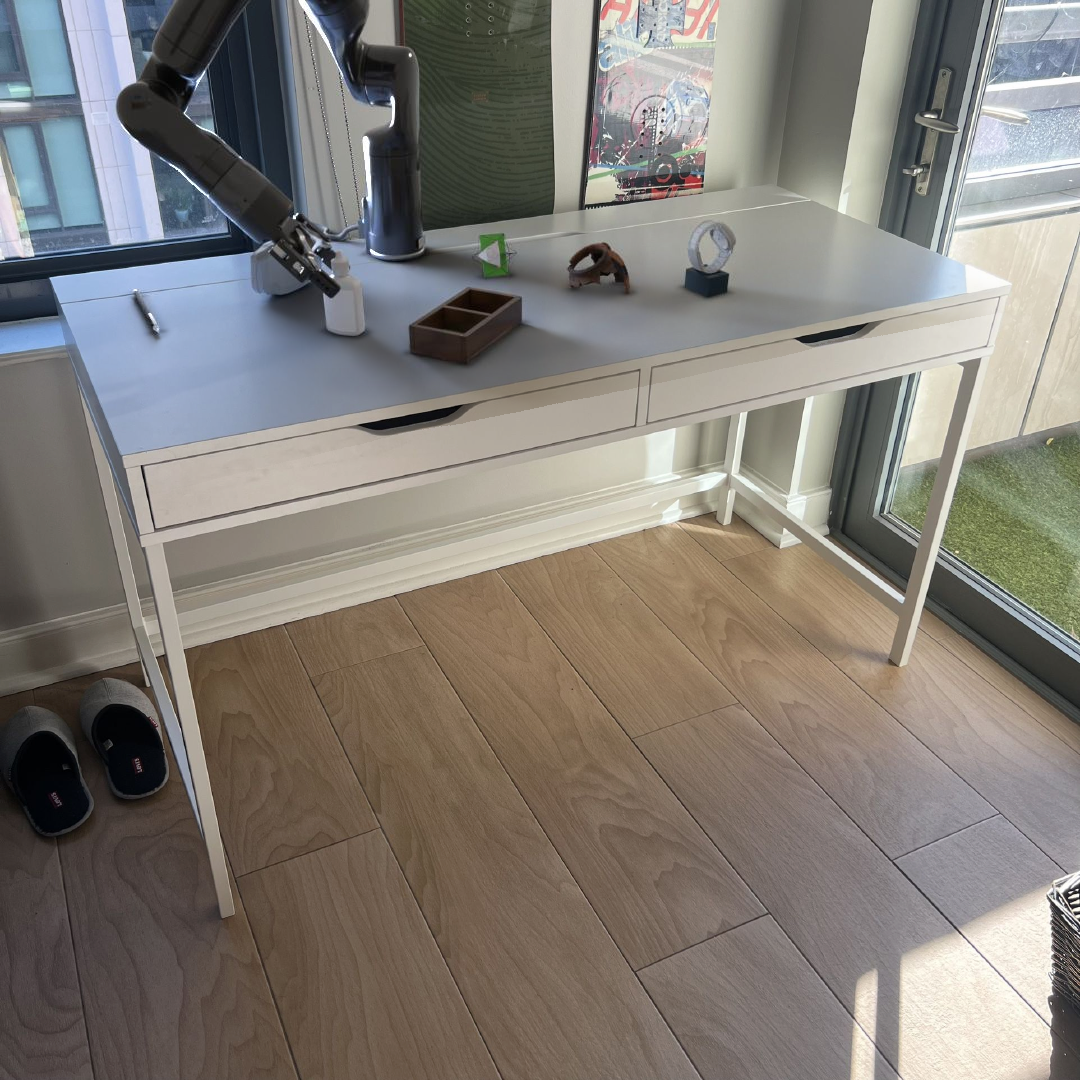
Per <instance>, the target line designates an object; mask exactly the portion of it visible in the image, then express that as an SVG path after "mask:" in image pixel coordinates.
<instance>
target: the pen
mask: <svg viewBox="0 0 1080 1080" xmlns="http://www.w3.org/2000/svg"><path fill="white" fill-rule="evenodd" d="M133 295H134V297H135V300H136V301H137V303H138V305H139V306H140V308H141V310H142V311H143V313H144V316H145V317H146V318H147V320H148V322H149V324H150V326H151V327H152V329H153V331H154V332H156V333H160V325H159V324H158V322H157V320H156V318H155V317H154V315H153V313H152V312H151V310H150V308H149V306H148V305H147V303H146V301H145V300H144V298H143V296H142V293H140V290H138V289H133Z"/></svg>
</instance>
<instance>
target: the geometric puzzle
mask: <svg viewBox="0 0 1080 1080" xmlns="http://www.w3.org/2000/svg"><path fill="white" fill-rule="evenodd" d="M506 238H507V237H506V235H505V232H500V233H491V234H479V235H478V239H477V240H479V243H478V245H475V248H474V251H473V253H472V254H473V255H472V256H471V257H470V259H472V261H473V262H474V264H475V266H476V267H477V269H478V270H479V271H480V273H481V274H482V276H483V278H490V277H499V276H509V275H510V274H509V273H510V270H511V267H510V266H508V262H510V259H511V258H513V257H516V255H517V254H518V252H517V251H515V249H512V248H511V247H508V242H509V243H510V245H512V244H511V242H510V241H509V239H508V238H507V239H506ZM507 240H508V242H507ZM505 243H506V244H505ZM476 246H477V248H479V246H480V250H477V252H476V253H475V254H474V252H475V250H476ZM506 247H507V250H506ZM510 250H512V252H510ZM507 251H508V252H507ZM479 252H480V253H479ZM476 258H477V260H476ZM507 258H508V259H507ZM479 259H481V262H480V260H479ZM475 261H476V262H477V263H479V266H480V269H481V270H480V269H479V267H478V265H477V264H476V262H475ZM513 263H514V262H512V263H511V265H513Z"/></svg>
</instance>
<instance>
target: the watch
mask: <svg viewBox="0 0 1080 1080" xmlns="http://www.w3.org/2000/svg"><path fill="white" fill-rule="evenodd" d="M706 233H708V235H709V236H710V239H711V240H712V242H713V243H714V244H715V246H716V249H717V250H718V253H717V255H716V256H715V259H714V260H713V261H712V263H710V264H707V263H703V259H702V255H701V252H700V242H701V241H702V238H703V237H704V236H705V234H706ZM736 244H737V239H736V236H735V234H734V232H733V230H732V229H731V228H730V227H729V225H727V224H726V223H724V222H723V221H720V220H715V221H714V220H711V219H707V220H704V221H702V222H700V223H699V224H697V226H695V228H694V229H693V230H692V233H691V235H690V237H689V240H688V244H687V245H688V247H687V255H688V259H689V262H690V264H691V267H688V268H685V274H684V287H683V288H685V289H686V290H689V291H691V292H693V293H695V294H699V295H700V296H702V297H705V298H711V297H715V296H718V295H719V296H720V295H723V294H727V293H728V289H729V279H730V273H729V272H727V271H724V270H722V268H723V267H724V266H725V265H726V264H727V262H728V261H729V259H730V257H731V255H732V254H733V252H734V247H735V245H736Z"/></svg>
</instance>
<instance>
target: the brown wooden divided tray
mask: <svg viewBox="0 0 1080 1080" xmlns="http://www.w3.org/2000/svg"><path fill="white" fill-rule="evenodd" d="M522 323H523V296H521V295H515V294H511V293H505V292H499V291H493V290H488V289H483V288H477V287H471V286H467V287H466V288H464V289H462V290H460V291H459V292H458V293H456V294H455V295H453V296H451V297H450V298H449V299H447V300H445V301H444V302H442V303H441V304H439V305H438V306H436V307H434V308H433V309H432V310H430V311H428V312H427V313H426V314H424V315H423V316H421V317H419V318H418V319H417V320H415V321H413V322H412V323H410V324H409V325H408V340H409V353H410V354H413V355H419V356H424V357H429V358H432V359H433V358H434V359H437V360H442V361H446V362H447V361H448V362H452V363H456V364H460V365H461V364H462V365H469V364H470V363H472V362H473V361H474V360H476V358H477V357H479V356H481V355H482V354H483V353H484V352H486V351H488V349H490V348H491V347H492V346H494V345H495V344H496V343H497V342H498V341H500V340H501V339H502V338H504V337H505V336H506V335H508V334H509V333H510V332H511V331H513V330H514V329H516V328H517V327H518V326H519V325H521V324H522Z"/></svg>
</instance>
